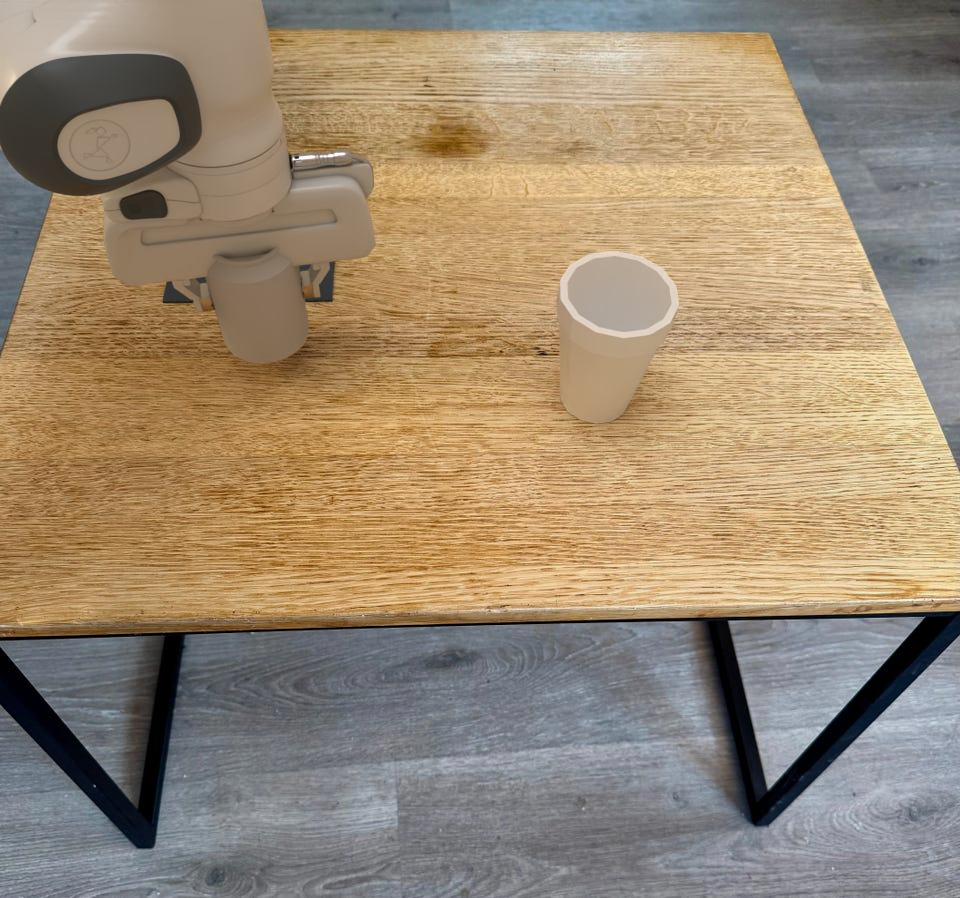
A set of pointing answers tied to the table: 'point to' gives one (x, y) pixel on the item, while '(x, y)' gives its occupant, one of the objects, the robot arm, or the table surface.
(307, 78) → the table surface
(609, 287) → the foam cup
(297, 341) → the can
